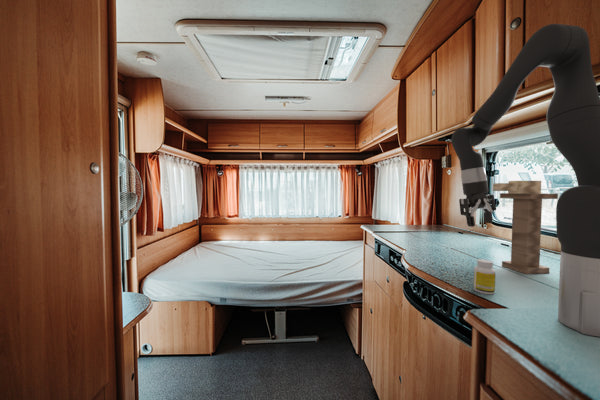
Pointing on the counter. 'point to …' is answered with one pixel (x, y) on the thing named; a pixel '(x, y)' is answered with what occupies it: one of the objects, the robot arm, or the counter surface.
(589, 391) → the counter surface
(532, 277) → the counter surface
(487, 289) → the supplement bottle
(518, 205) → the stand
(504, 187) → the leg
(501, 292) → the counter surface
